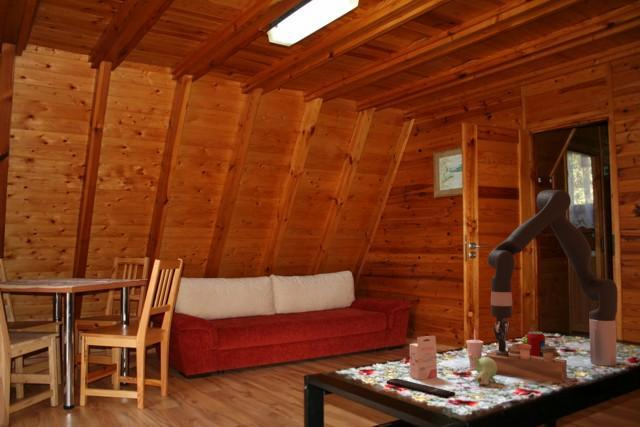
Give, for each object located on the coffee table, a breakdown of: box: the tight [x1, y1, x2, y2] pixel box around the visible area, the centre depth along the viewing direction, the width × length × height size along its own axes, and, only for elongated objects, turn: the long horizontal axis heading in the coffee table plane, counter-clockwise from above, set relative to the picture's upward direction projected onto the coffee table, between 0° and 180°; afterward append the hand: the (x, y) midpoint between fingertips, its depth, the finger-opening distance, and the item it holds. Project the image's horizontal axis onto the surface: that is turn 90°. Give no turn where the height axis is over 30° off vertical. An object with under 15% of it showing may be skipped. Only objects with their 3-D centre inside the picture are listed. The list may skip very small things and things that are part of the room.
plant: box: [507, 326, 558, 358], centre depth 232 cm, size 20×20×11 cm
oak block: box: [484, 350, 568, 384], centre depth 193 cm, size 10×26×6 cm, turn 56°
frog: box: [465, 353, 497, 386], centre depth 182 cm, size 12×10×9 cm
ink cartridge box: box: [409, 335, 438, 381], centre depth 190 cm, size 9×5×15 cm, turn 117°
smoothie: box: [465, 329, 484, 368], centre depth 206 cm, size 6×6×14 cm
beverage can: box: [526, 330, 546, 357], centre depth 212 cm, size 7×7×12 cm
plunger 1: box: [495, 349, 509, 357], centre depth 198 cm, size 4×4×7 cm
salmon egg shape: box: [518, 343, 531, 359], centre depth 193 cm, size 4×4×7 cm
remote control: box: [386, 378, 456, 399], centre depth 174 cm, size 5×24×1 cm, turn 43°
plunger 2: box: [541, 346, 556, 362], centre depth 189 cm, size 4×4×7 cm
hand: (502, 351), depth 198 cm, fingers closed
